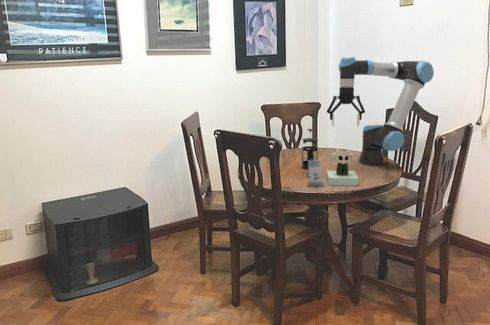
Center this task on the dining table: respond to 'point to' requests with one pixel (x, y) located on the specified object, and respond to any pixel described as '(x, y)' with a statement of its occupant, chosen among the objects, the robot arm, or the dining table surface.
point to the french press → (309, 150)
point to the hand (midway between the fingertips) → (345, 126)
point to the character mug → (342, 160)
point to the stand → (342, 178)
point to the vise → (314, 174)
